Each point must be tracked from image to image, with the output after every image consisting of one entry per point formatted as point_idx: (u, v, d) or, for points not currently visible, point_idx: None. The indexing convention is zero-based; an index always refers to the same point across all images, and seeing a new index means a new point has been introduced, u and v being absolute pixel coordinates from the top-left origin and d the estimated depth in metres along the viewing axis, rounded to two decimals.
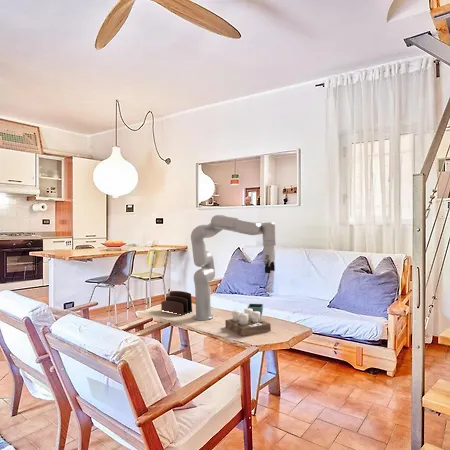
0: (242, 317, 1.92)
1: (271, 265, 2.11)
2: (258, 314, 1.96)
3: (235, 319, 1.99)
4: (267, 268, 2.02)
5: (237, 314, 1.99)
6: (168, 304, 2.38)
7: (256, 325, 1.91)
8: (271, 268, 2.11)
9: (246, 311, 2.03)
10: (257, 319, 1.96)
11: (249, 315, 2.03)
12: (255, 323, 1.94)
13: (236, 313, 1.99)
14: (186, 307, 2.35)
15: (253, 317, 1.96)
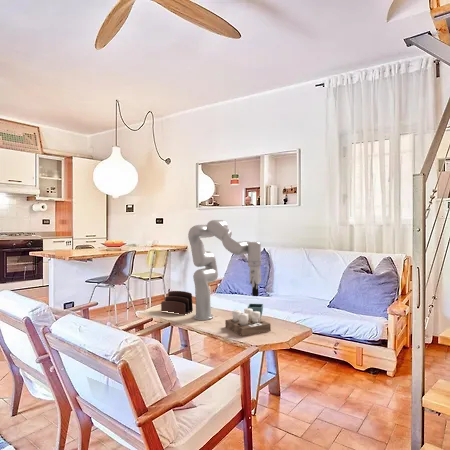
0: (242, 317, 1.92)
1: None
2: (258, 314, 1.96)
3: (235, 319, 1.99)
4: None
5: (237, 314, 1.99)
6: (169, 304, 2.38)
7: (256, 325, 1.91)
8: None
9: (246, 311, 2.03)
10: (257, 319, 1.96)
11: (249, 315, 2.03)
12: (255, 323, 1.94)
13: (236, 313, 1.99)
14: (187, 307, 2.36)
15: (253, 317, 1.96)
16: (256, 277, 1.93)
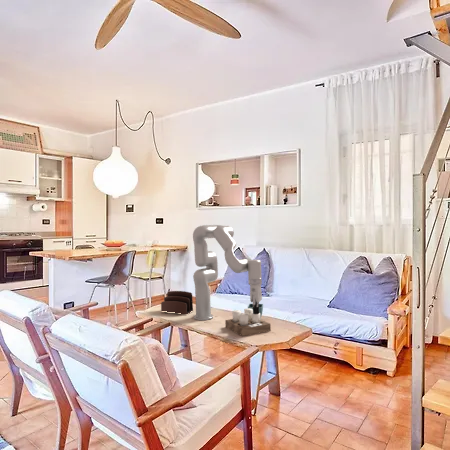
0: (242, 317, 1.92)
1: None
2: (258, 315, 1.96)
3: (235, 319, 1.99)
4: None
5: (237, 314, 1.99)
6: (169, 304, 2.37)
7: (256, 325, 1.91)
8: None
9: (246, 311, 2.03)
10: (257, 320, 1.96)
11: (249, 315, 2.03)
12: (255, 323, 1.94)
13: (236, 313, 1.99)
14: (188, 306, 2.37)
15: (253, 318, 1.96)
16: (257, 295, 1.93)
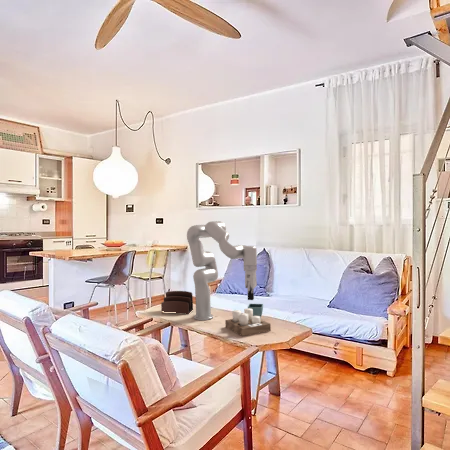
0: (242, 317, 1.92)
1: None
2: (258, 319, 1.96)
3: (235, 319, 1.99)
4: None
5: (237, 314, 1.99)
6: (170, 304, 2.37)
7: (256, 325, 1.91)
8: None
9: (246, 311, 2.03)
10: None
11: (249, 315, 2.03)
12: (255, 323, 1.94)
13: (236, 313, 1.99)
14: (189, 306, 2.39)
15: (253, 322, 1.96)
16: (251, 281, 1.94)
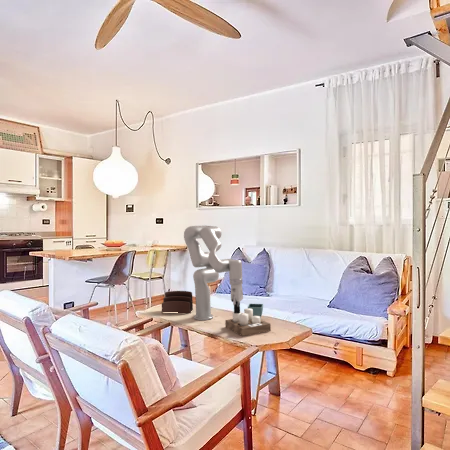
0: (242, 317, 1.92)
1: None
2: (258, 319, 1.96)
3: (235, 321, 1.99)
4: None
5: (237, 316, 1.99)
6: (171, 304, 2.37)
7: (256, 325, 1.91)
8: None
9: (246, 311, 2.03)
10: None
11: (249, 315, 2.03)
12: (255, 323, 1.94)
13: (236, 315, 1.99)
14: (190, 305, 2.40)
15: (253, 322, 1.96)
16: (237, 295, 1.96)
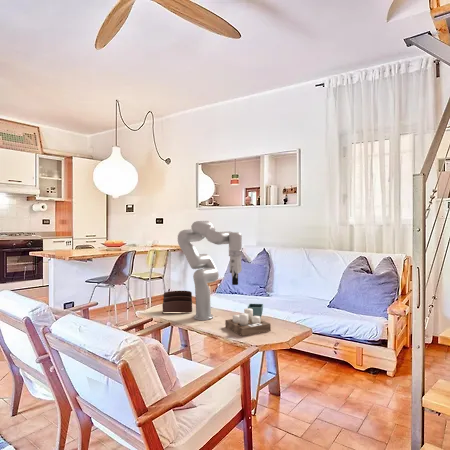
0: (242, 317, 1.92)
1: None
2: (258, 319, 1.96)
3: None
4: None
5: (237, 319, 1.99)
6: (172, 304, 2.37)
7: (256, 325, 1.91)
8: None
9: (246, 311, 2.03)
10: None
11: (249, 315, 2.03)
12: (255, 323, 1.94)
13: (236, 318, 1.99)
14: None
15: (253, 322, 1.96)
16: (235, 266, 1.98)
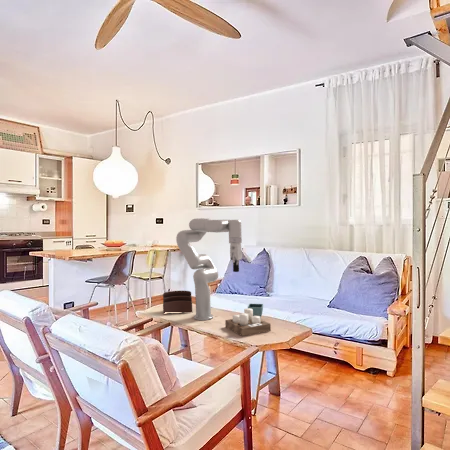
0: (242, 317, 1.92)
1: None
2: (258, 319, 1.96)
3: None
4: None
5: (237, 319, 1.99)
6: (172, 304, 2.37)
7: (256, 325, 1.91)
8: None
9: (246, 311, 2.03)
10: None
11: (249, 315, 2.03)
12: (255, 323, 1.94)
13: (236, 318, 1.99)
14: None
15: (253, 322, 1.96)
16: (236, 253, 2.00)
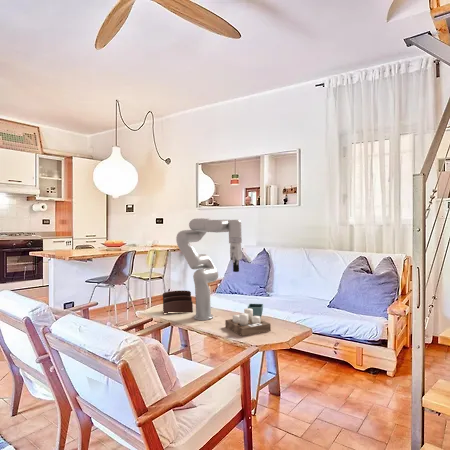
0: (242, 317, 1.92)
1: None
2: (258, 319, 1.96)
3: None
4: None
5: (237, 319, 1.99)
6: (173, 304, 2.37)
7: (256, 325, 1.91)
8: None
9: (246, 311, 2.03)
10: None
11: (249, 315, 2.03)
12: (255, 323, 1.94)
13: (236, 318, 1.99)
14: None
15: (253, 322, 1.96)
16: (236, 253, 2.00)
